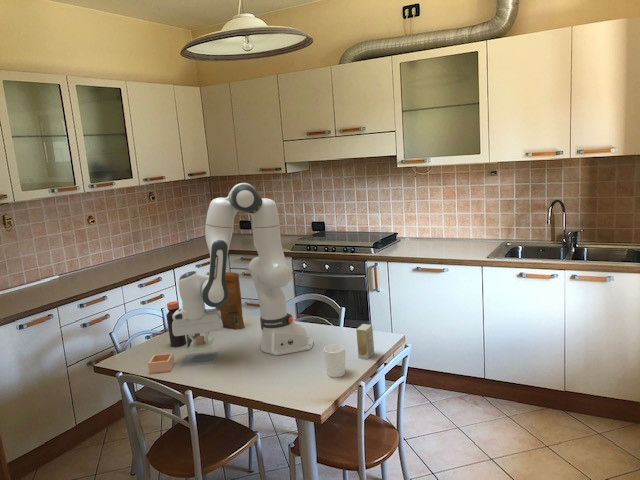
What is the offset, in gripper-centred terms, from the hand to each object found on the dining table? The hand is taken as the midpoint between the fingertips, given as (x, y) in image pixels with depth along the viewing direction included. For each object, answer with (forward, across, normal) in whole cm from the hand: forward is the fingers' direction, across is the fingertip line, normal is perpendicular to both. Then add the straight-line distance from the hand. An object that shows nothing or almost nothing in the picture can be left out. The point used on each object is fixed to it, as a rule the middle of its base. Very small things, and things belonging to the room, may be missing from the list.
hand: (200, 342), depth 217 cm
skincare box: (+10, -67, +12) cm, 69 cm away
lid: (+2, 0, 0) cm, 2 cm away
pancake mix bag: (+9, -6, -36) cm, 38 cm away
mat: (+7, +1, +1) cm, 8 cm away
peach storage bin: (+7, +15, +7) cm, 18 cm away
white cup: (+10, -54, +25) cm, 60 cm away
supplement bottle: (+8, +7, -14) cm, 18 cm away
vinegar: (+7, +15, -18) cm, 24 cm away
